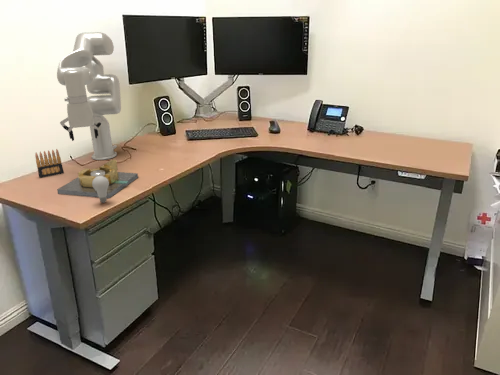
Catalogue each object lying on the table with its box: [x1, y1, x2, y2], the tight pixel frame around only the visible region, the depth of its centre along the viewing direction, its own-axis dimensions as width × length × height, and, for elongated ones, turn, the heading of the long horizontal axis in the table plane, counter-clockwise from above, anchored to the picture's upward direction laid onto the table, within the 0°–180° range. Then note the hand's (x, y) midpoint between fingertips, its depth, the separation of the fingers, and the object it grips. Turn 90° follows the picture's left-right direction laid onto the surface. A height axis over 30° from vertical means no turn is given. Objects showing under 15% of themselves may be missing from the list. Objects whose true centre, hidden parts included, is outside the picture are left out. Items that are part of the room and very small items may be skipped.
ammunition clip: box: [34, 148, 65, 179], centre depth 194 cm, size 11×2×12 cm, turn 123°
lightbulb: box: [92, 176, 109, 203], centre depth 164 cm, size 6×6×11 cm
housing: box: [56, 170, 139, 199], centre depth 182 cm, size 24×25×6 cm
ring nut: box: [77, 158, 119, 187], centre depth 184 cm, size 21×15×5 cm
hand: (84, 138), depth 185 cm, fingers open, 9 cm apart
